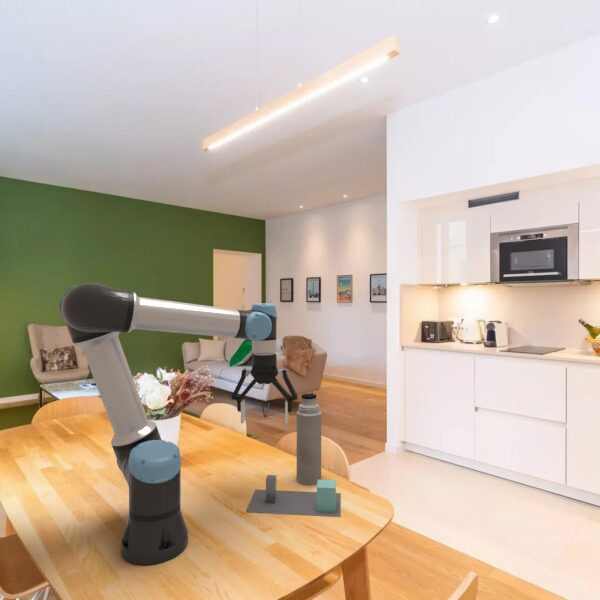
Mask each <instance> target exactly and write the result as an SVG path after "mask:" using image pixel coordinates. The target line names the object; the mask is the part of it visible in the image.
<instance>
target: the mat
mask: <svg viewBox="0 0 600 600" xmlns="http://www.w3.org/2000/svg"><path fill="white" fill-rule="evenodd" d="M341 495H342V494H341V492H339V493H338V492H336V512H319V511H317V491H300V490H299V491H298V490H297V491H295V490H279V489H278V490H277V489H276V502H275V504H274V503H266V489H257V488H256V489H254V491H253V494H252V496H251V499H250V501H249V503H248V506H247V508H246V509H245V513H249V514H251V513H252V514H269V515H270V514H271V515H290V516H307V517H326V518H327V517H329V518H341V517H342V515H341V513H342V512H341V511H342V510H341V506H342V505H341V504H342V502H341V500H342V498H341Z"/></svg>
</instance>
